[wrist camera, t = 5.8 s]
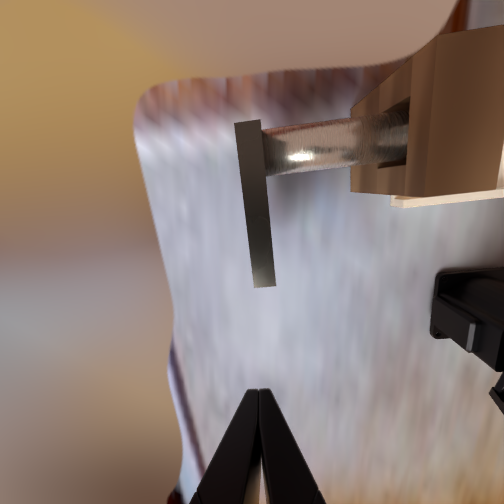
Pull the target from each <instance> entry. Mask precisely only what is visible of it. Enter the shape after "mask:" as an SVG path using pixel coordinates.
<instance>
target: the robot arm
mask: <svg viewBox="0 0 504 504" xmlns="http://www.w3.org/2000/svg"><path fill="white" fill-rule="evenodd" d="M444 277H445V278H444ZM442 278H444V280H442ZM437 332H438V333H437ZM436 333H437V334H436ZM430 335H431V336H432V337H434V338H435V339H447V338H451V339H452V340H453V341H455V342H456V343H457V344H458V345H459V346H461V347H462V348H463V349H464V350H466V351H467V352H468V353H474V354H475V355H476V356H477V357H479V358H480V359H481V360H482V361H484V362H485V363H486V364H487V365H489V366H490V367H491V368H492V369H494V370H495V371H496V372H503V373H502V374H501V376H500V378H499V380H498V381H497V383H496V385H495V387H492V388H491V390H490V392H489V395H490V396H491V398H492V399H493V400H494V402H495V403H496V405H497V406H498V407H499V409H500V410H501V412H502V413H503V415H504V267H500V268H489V269H477V270H466V271H454V272H443V273H439V274H438V275H437V276H436V279H435V289H434V298H433V303H432V313H431V326H430ZM261 458H262V469H263V478H264V486H265V495H266V503H267V504H326V502H325V500H324V498H323V496H322V494H321V492H320V491H319V490H318V486H317V484H316V482H315V480H314V478H313V475H312V473H311V471H310V469H309V467H308V465H307V463H306V461H305V459H304V457H303V455H302V453H301V451H300V449H299V447H298V445H297V443H296V441H295V439H294V436H293V434H292V432H291V430H290V428H289V426H288V424H287V422H286V420H285V418H284V416H283V414H282V412H281V410H280V408H279V406H278V404H277V402H276V399H275V397H274V395H273V393H272V391H271V390H270V389H269V388H263V389H259V390H258V389H248V390H247V391H246V393H245V395H244V397H243V399H242V401H241V403H240V405H239V407H238V409H237V410H236V412H235V414H234V416H233V418H232V420H231V422H230V424H229V426H228V428H227V430H226V432H225V434H224V436H223V438H222V440H221V442H220V444H219V446H218V448H217V450H216V452H215V454H214V456H213V458H212V460H211V462H210V464H209V466H208V468H207V470H206V472H205V474H204V476H203V478H202V480H201V482H200V484H199V485H198V487H197V492H195V493H194V495H193V497H192V499H191V501H190V503H189V504H259V492H260V479H261Z"/></svg>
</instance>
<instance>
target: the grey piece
mask: <svg viewBox="0 0 504 504" xmlns="http://www.w3.org/2000/svg"><path fill="white" fill-rule="evenodd" d="M409 112H410V110H403V111H395V112H388V113H381V114H373V115H366V116H359V117H351V118H344V119H337V120H329V121H322V122H315V123H307V124H300V125H293V126H285V127H278V128H271V129H263V130H261V121H260V120H253V121H245V122H238V123H234V126H235V135H236V143H237V151H238V159H239V167H240V176H241V184H242V192H243V200H244V208H245V217H246V225H247V233H248V241H249V249H250V258H251V266H252V274H253V282H254V288H260V287H271V286H276V280H275V270H274V259H273V248H272V238H271V227H270V216H269V206H268V195H267V185H266V176H274V175H282V174H290V173H299V172H307V171H315V170H323V169H331V168H340V167H348V166H356V165H364V164H373V163H381V162H389V161H397V160H403V159H405V158H407V144H408V128H409Z"/></svg>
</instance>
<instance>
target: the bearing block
mask: <svg viewBox="0 0 504 504" xmlns="http://www.w3.org/2000/svg"><path fill="white" fill-rule="evenodd" d="M403 110H410V112H409V128H408V144H407V158H405V159H403V160H397V161H389V162H381V163H373V164H364V165H356V166H351V192H359V193H371V194H384V195H396V196H409V197H421V198H426V197H435V196H444V195H453V194H463V193H472V192H481V191H490V190H496V187H497V180H498V174H499V168H500V162H501V156H502V150H503V144H504V25H498V26H492V27H485V28H479V29H473V30H466V31H460V32H454V33H447V34H441V35H437V36H436V37H435V38H434V39H432V40H431V41H430V42H429V43H428V44H427V45H425V46H424V47H423V48H422V49H421V50H420V51H418V52H417V53H416V54H415V55H414V56H412V57H411V58H410V59H409V60H408V61H407V62H405V63H404V64H403V65H402V66H401V67H400V68H398V69H397V70H396V71H395V72H394V73H393V74H391V75H390V76H389V77H388V78H387V79H386V80H384V81H383V82H382V83H381V84H380V85H379V86H377V87H376V88H375V89H374V90H373V91H372V92H370V93H369V94H368V95H367V96H366V97H364V98H363V99H362V100H361V101H360V102H359V103H357V104H356V105H355V106H354V107H353V108H352V109H351V117H359V116H366V115H373V114H381V113H388V112H395V111H403Z"/></svg>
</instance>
